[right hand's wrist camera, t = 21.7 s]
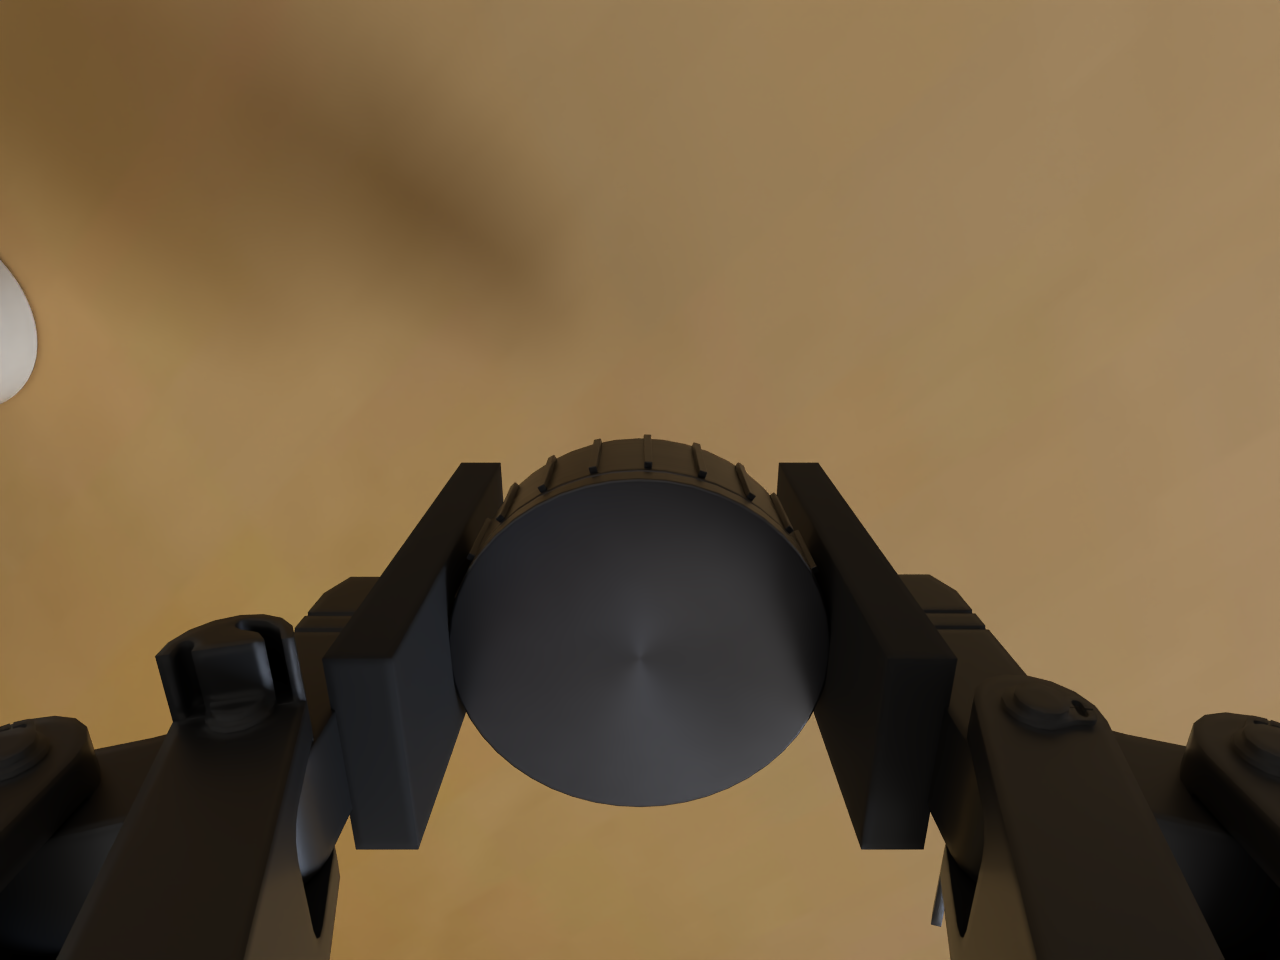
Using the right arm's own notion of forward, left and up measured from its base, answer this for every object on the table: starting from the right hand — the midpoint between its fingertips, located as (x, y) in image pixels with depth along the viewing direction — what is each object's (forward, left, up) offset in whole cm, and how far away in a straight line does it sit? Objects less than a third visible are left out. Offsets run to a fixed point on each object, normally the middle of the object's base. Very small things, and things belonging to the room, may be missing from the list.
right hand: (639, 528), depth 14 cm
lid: (0, 0, +4) cm, 4 cm away
